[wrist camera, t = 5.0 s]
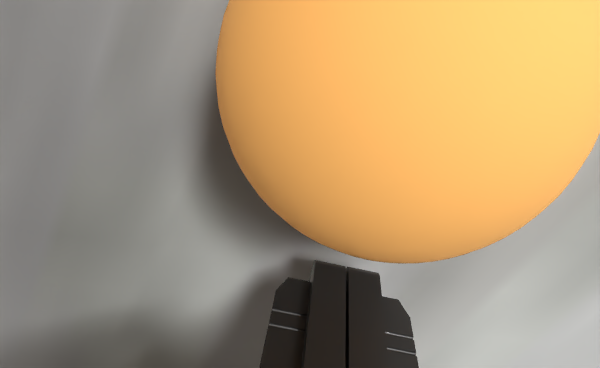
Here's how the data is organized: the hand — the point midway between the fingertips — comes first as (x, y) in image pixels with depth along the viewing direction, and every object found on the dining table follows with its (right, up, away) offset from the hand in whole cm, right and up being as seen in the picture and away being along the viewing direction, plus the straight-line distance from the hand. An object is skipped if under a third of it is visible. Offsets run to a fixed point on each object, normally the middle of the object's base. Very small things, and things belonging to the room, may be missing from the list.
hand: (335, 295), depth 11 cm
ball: (+1, +4, -4) cm, 6 cm away
